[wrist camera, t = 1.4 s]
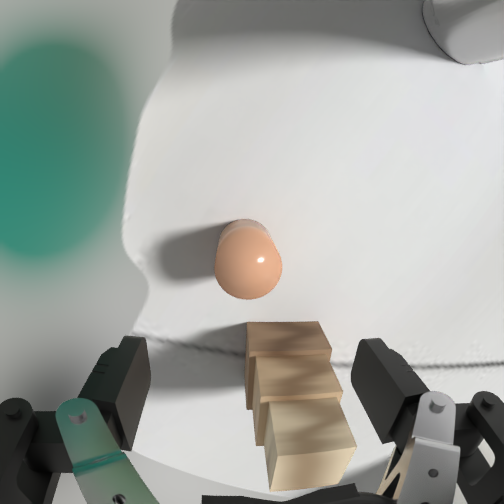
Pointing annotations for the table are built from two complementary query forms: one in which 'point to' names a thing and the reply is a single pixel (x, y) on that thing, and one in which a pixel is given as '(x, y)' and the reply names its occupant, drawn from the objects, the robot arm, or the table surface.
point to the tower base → (280, 345)
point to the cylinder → (247, 260)
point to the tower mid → (290, 384)
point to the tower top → (306, 443)
